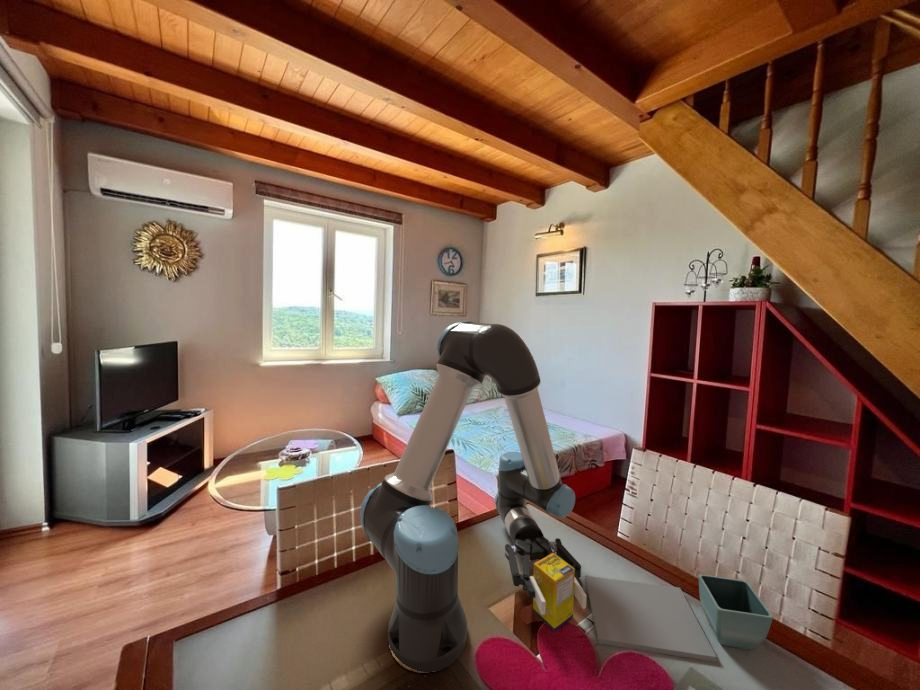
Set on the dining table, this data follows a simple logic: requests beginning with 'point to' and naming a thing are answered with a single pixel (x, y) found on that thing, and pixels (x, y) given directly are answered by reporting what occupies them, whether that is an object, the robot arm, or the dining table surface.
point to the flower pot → (734, 611)
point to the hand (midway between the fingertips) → (564, 604)
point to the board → (646, 618)
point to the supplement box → (555, 590)
